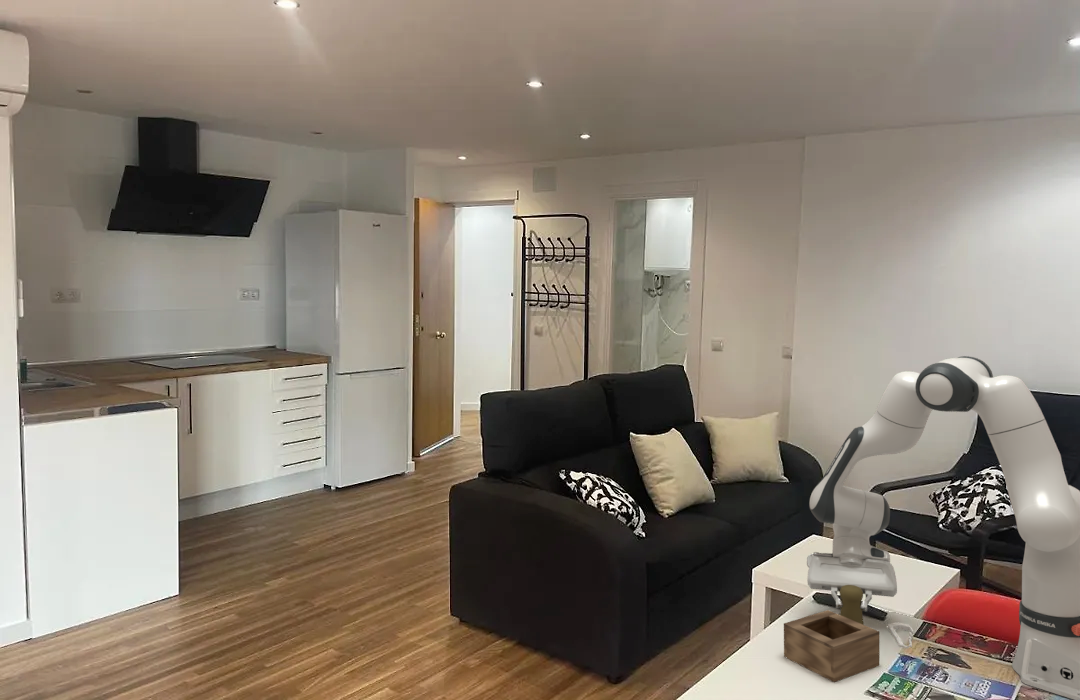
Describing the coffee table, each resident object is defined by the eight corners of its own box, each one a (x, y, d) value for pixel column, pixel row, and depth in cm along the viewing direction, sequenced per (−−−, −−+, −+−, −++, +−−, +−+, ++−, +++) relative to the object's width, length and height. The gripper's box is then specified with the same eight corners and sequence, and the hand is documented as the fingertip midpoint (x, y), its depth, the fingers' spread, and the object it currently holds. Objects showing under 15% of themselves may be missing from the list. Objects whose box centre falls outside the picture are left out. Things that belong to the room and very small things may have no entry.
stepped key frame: (924, 653, 180) (924, 646, 179) (900, 652, 180) (900, 645, 180) (906, 626, 192) (907, 620, 192) (885, 626, 193) (885, 619, 193)
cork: (869, 636, 187) (869, 591, 186) (843, 637, 187) (843, 591, 186) (859, 626, 193) (859, 581, 192) (834, 626, 193) (834, 582, 192)
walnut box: (879, 665, 172) (879, 631, 172) (834, 682, 166) (833, 646, 165) (828, 641, 185) (828, 610, 184) (784, 656, 178) (783, 623, 177)
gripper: (806, 545, 199) (804, 598, 190) (896, 552, 191) (898, 607, 183) (807, 557, 203) (805, 609, 195) (895, 565, 196) (897, 619, 187)
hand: (851, 608), depth 189 cm, fingers closed on cork, 4 cm apart
